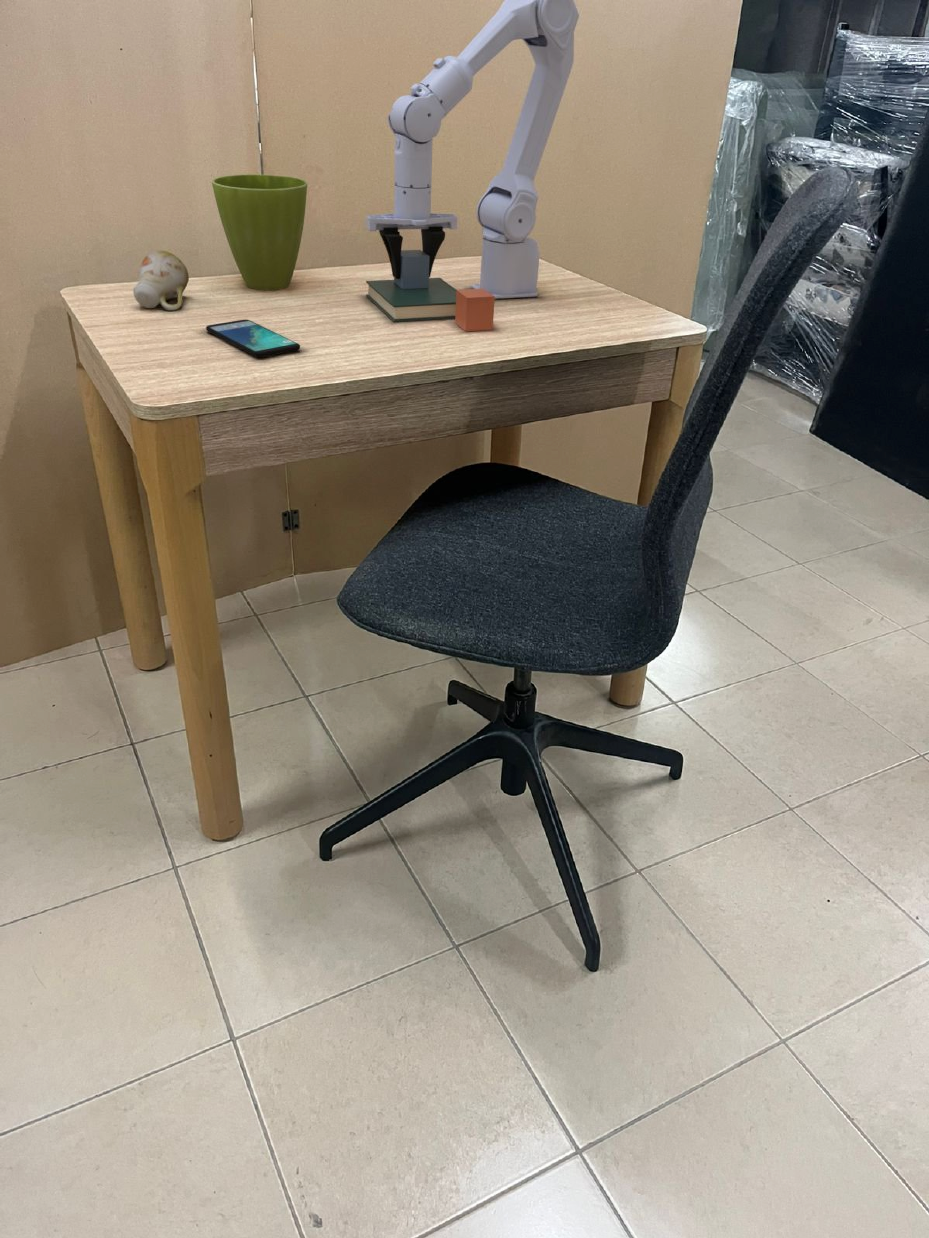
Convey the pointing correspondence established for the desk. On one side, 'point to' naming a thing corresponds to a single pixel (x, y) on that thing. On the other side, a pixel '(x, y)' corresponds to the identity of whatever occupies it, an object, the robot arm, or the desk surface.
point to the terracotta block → (474, 309)
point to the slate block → (413, 270)
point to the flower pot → (262, 225)
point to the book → (414, 300)
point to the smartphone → (253, 338)
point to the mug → (161, 280)
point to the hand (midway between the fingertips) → (411, 276)
